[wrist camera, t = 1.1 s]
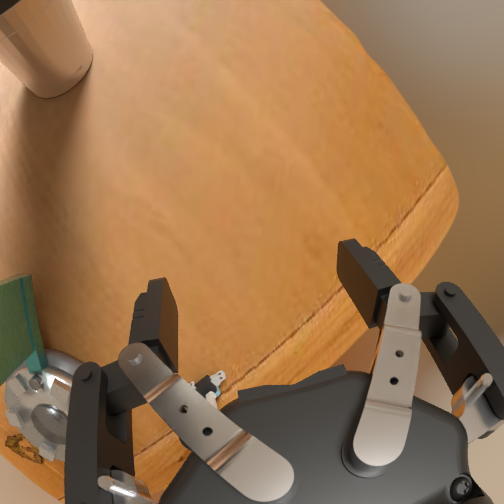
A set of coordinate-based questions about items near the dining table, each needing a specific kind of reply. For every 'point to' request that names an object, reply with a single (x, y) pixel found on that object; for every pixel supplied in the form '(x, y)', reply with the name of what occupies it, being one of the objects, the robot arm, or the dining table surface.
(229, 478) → the robot arm
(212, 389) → the push button
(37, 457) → the leaf
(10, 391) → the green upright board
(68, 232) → the dining table surface
